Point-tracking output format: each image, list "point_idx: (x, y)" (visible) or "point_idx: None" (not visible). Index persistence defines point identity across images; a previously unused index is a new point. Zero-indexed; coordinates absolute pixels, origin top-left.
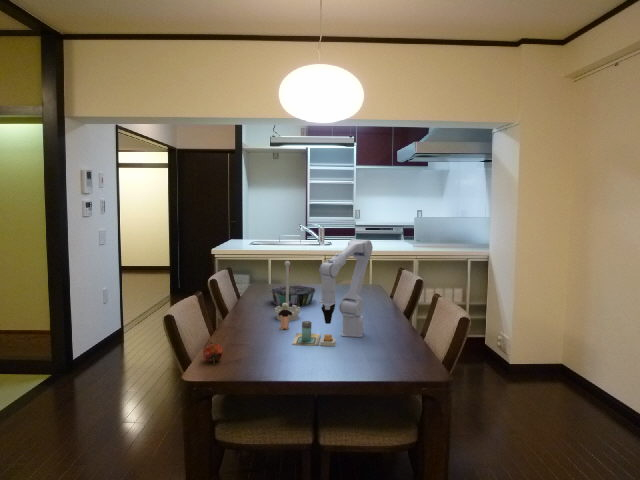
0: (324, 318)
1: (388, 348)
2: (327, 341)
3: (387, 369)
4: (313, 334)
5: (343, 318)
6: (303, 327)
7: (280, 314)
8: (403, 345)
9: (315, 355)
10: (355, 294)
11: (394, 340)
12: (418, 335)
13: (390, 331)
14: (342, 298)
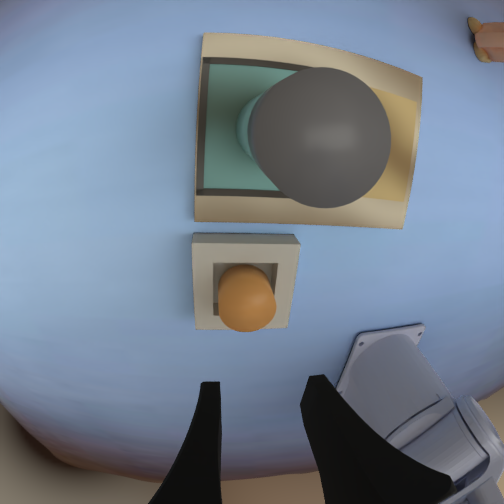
0: (191, 427)
1: None
2: (211, 288)
3: (46, 418)
4: (397, 183)
5: (418, 396)
6: (262, 94)
7: None
8: (240, 464)
9: (37, 219)
10: None
11: (285, 452)
12: None
13: None
14: (499, 456)
